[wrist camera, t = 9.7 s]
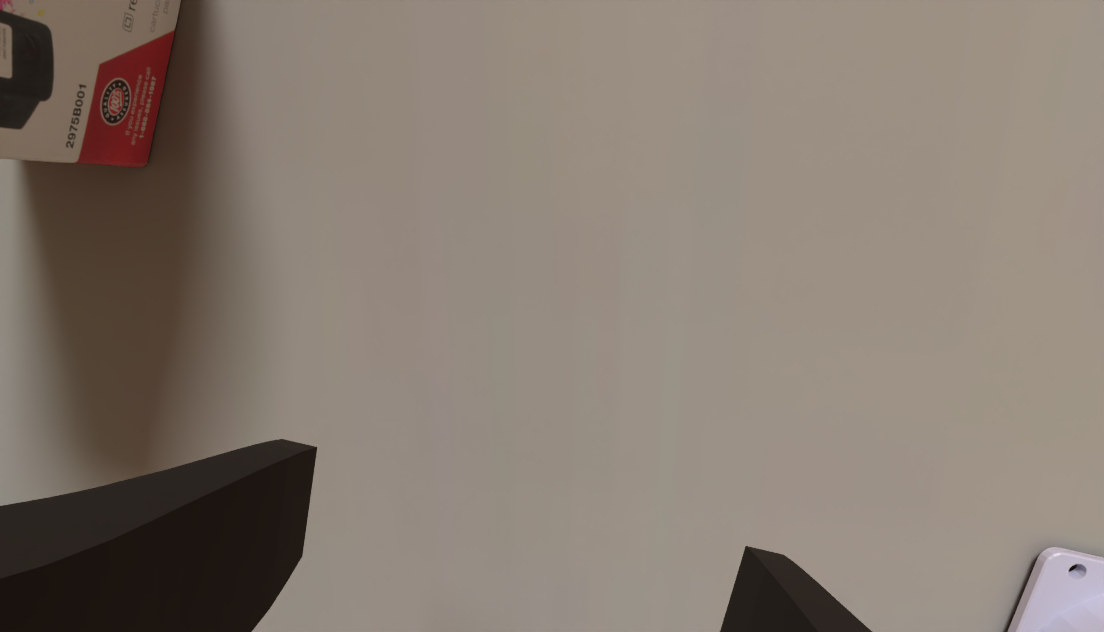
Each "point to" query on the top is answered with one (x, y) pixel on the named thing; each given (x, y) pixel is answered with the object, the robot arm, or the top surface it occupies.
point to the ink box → (83, 78)
